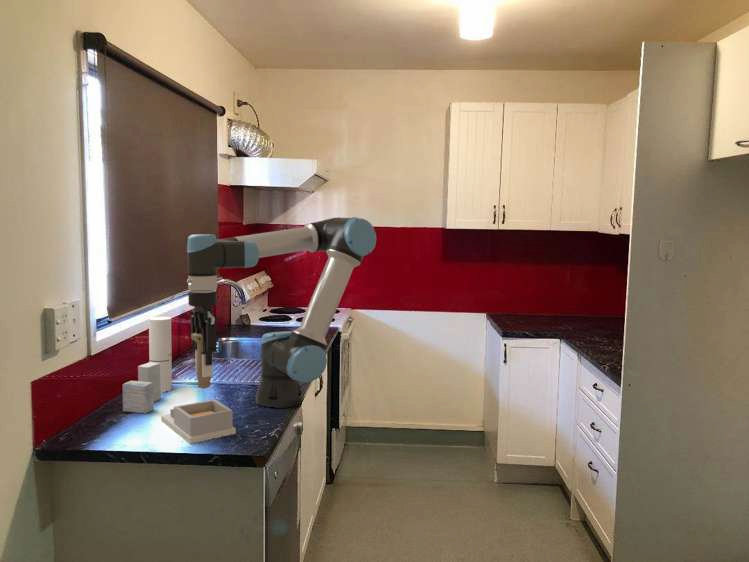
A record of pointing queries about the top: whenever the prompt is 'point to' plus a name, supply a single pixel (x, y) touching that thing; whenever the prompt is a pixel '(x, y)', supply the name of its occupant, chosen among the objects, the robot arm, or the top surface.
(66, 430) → the top surface
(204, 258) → the robot arm
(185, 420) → the switch panel
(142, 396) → the medicine box
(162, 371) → the cylindrical container
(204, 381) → the handle
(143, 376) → the skincare box
